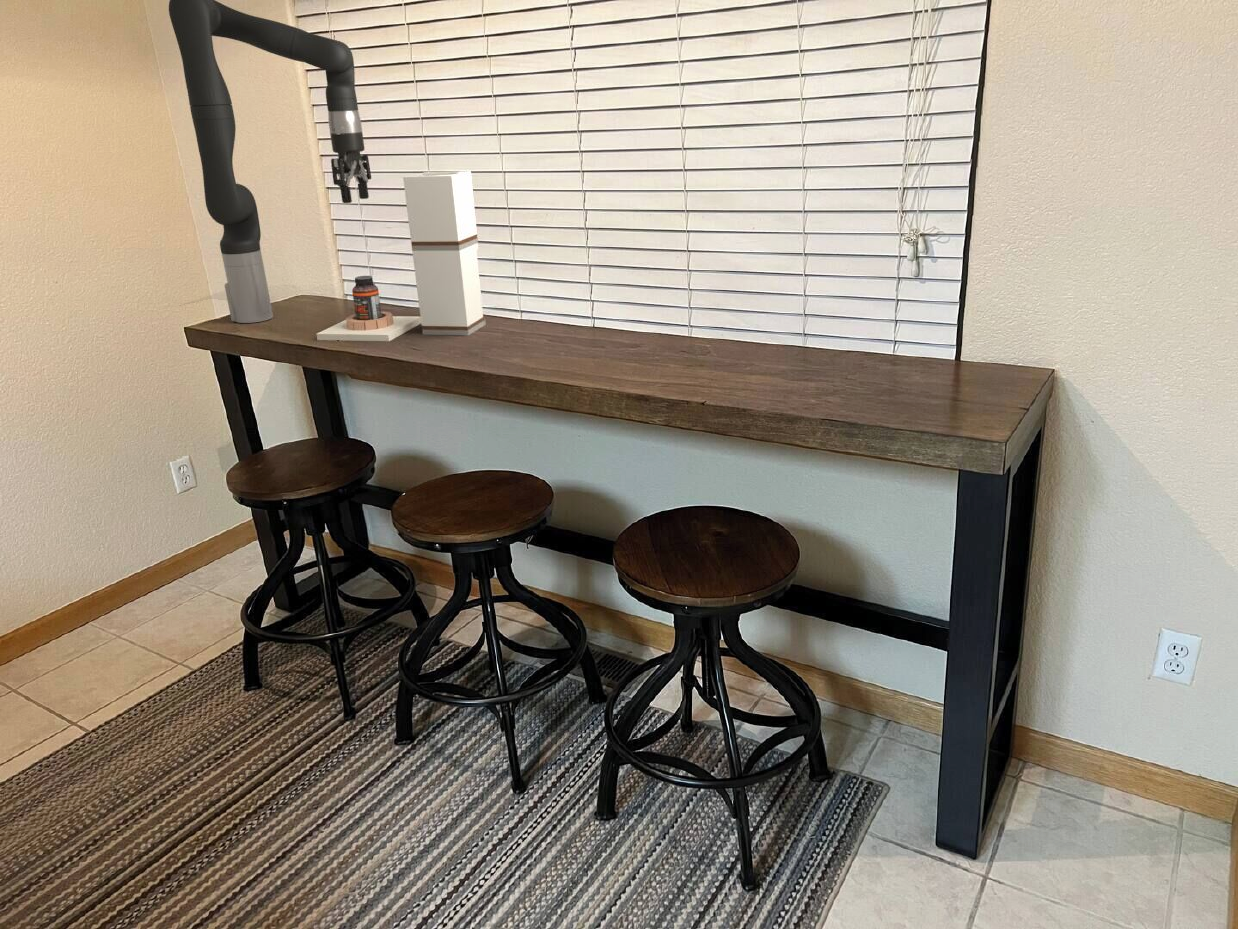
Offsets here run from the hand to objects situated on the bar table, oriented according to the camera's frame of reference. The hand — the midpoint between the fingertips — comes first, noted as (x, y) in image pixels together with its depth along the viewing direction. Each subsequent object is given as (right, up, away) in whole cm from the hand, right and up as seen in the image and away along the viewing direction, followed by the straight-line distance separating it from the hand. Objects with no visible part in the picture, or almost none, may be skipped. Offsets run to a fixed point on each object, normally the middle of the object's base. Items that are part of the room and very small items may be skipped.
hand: (355, 200), depth 226 cm
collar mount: (+6, -34, -9) cm, 35 cm away
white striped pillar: (+26, -34, -11) cm, 44 cm away
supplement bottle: (+6, -32, -10) cm, 34 cm away
